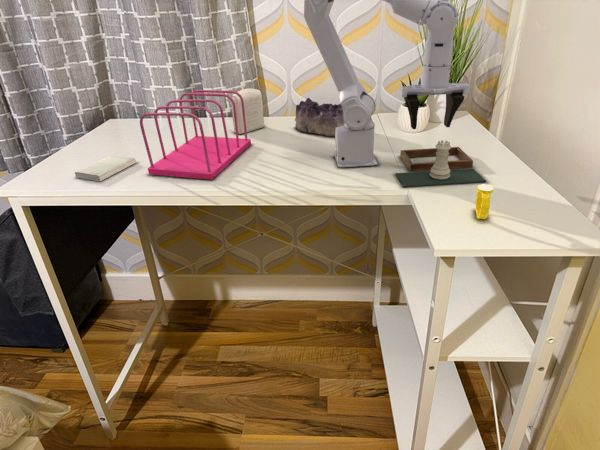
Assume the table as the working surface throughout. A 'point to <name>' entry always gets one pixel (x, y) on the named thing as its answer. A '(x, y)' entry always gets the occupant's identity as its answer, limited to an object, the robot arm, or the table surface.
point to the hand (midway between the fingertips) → (430, 127)
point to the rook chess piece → (441, 162)
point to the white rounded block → (248, 110)
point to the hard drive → (105, 168)
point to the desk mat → (425, 180)
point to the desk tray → (462, 163)
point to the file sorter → (197, 142)
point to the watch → (483, 200)
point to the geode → (318, 117)
